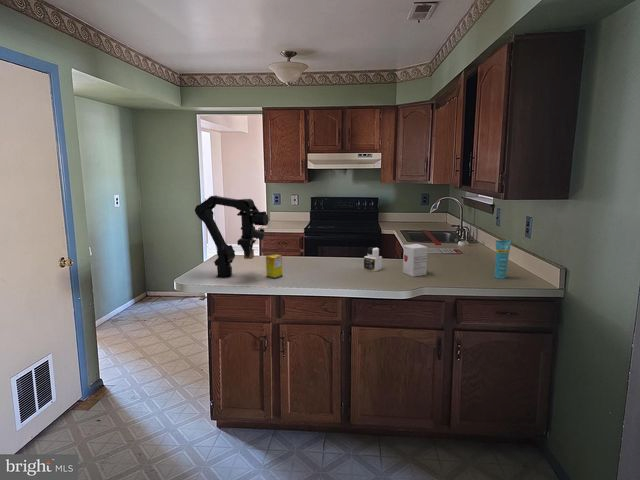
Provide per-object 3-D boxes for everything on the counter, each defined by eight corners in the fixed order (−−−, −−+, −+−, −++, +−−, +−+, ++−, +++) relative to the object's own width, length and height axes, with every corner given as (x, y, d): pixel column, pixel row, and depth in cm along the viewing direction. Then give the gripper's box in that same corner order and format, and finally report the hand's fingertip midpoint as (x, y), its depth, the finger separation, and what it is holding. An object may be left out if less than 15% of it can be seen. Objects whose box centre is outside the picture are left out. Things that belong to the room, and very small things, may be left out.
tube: (495, 279, 204) (498, 241, 200) (490, 276, 209) (493, 239, 205) (509, 278, 204) (513, 241, 201) (505, 276, 209) (508, 239, 205)
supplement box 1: (274, 274, 214) (274, 253, 212) (282, 276, 210) (282, 255, 208) (266, 276, 209) (265, 256, 207) (274, 279, 206) (273, 257, 203)
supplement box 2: (402, 272, 216) (403, 244, 214) (416, 270, 220) (417, 243, 217) (412, 277, 208) (413, 248, 205) (426, 275, 212) (428, 246, 209)
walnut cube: (244, 258, 203) (243, 250, 202) (246, 256, 206) (245, 249, 206) (252, 258, 202) (251, 250, 202) (253, 256, 206) (253, 249, 205)
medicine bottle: (363, 269, 223) (363, 247, 221) (371, 266, 228) (371, 245, 226) (374, 271, 218) (374, 249, 216) (382, 269, 223) (382, 247, 221)
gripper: (259, 227, 192) (261, 260, 195) (267, 221, 210) (268, 251, 213) (236, 227, 192) (237, 260, 195) (245, 221, 211) (247, 251, 214)
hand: (248, 255), depth 204 cm, fingers closed on walnut cube, 4 cm apart
